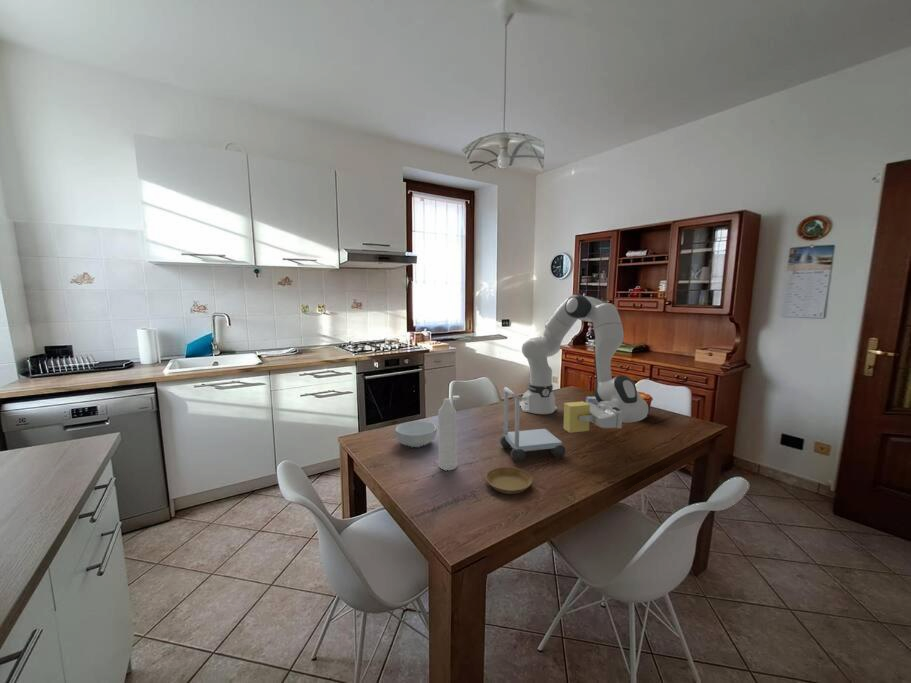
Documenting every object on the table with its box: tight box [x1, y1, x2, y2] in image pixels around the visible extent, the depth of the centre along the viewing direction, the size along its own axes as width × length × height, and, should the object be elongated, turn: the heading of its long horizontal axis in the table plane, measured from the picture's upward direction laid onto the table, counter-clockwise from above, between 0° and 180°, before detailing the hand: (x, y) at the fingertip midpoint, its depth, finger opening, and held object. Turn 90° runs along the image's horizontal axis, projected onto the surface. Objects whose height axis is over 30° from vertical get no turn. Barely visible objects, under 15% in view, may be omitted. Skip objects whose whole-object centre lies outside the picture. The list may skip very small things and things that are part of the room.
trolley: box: [499, 386, 566, 463], centre depth 139 cm, size 14×21×25 cm, turn 102°
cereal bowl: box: [395, 420, 438, 448], centre depth 149 cm, size 17×17×7 cm
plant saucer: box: [485, 466, 533, 495], centre depth 117 cm, size 15×15×3 cm
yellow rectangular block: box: [563, 400, 590, 434], centre depth 136 cm, size 4×8×10 cm, turn 102°
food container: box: [637, 391, 654, 420], centre depth 181 cm, size 16×16×11 cm
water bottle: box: [437, 395, 461, 471], centre depth 129 cm, size 9×6×25 cm
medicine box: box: [585, 396, 599, 406], centre depth 183 cm, size 8×4×9 cm, turn 84°
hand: (574, 415), depth 136 cm, fingers closed on yellow rectangular block, 4 cm apart
